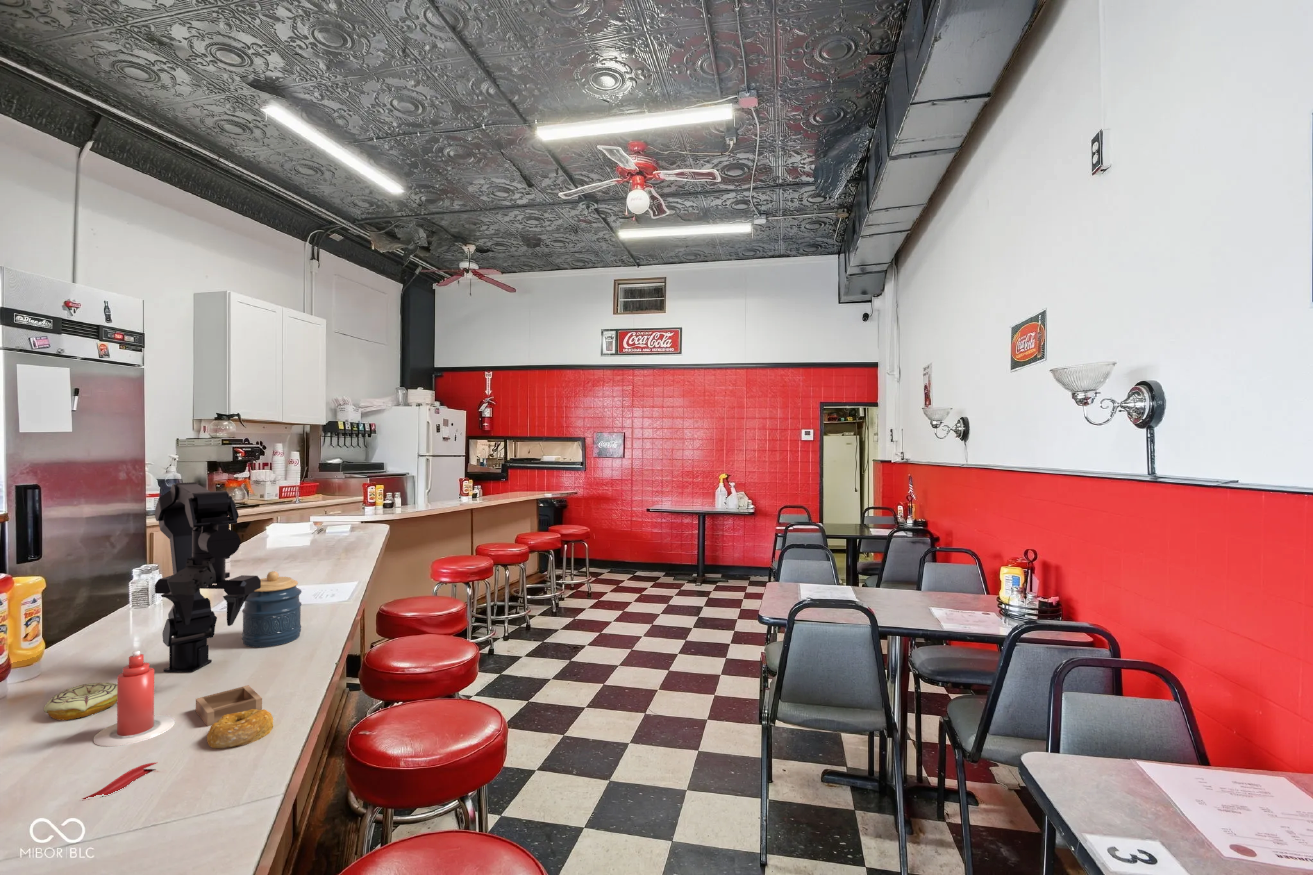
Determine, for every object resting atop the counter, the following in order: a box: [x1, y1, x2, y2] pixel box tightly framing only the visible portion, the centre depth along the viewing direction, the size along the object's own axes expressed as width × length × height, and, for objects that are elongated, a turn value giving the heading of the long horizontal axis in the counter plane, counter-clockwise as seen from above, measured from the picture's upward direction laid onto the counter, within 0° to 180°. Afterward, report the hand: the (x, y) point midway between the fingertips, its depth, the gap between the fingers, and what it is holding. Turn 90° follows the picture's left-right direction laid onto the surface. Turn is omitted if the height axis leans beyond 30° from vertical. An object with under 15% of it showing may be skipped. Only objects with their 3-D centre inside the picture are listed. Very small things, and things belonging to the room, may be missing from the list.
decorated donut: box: [43, 681, 117, 721], centre depth 118 cm, size 10×11×4 cm
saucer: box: [93, 714, 176, 747], centre depth 109 cm, size 11×11×1 cm
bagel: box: [206, 708, 275, 749], centre depth 108 cm, size 10×11×5 cm
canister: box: [241, 570, 303, 648], centre depth 158 cm, size 13×13×18 cm
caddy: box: [195, 685, 263, 727], centre depth 117 cm, size 9×9×3 cm
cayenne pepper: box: [82, 762, 157, 799], centre depth 94 cm, size 12×5×2 cm, turn 147°
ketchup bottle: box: [116, 650, 155, 736], centre depth 109 cm, size 5×5×14 cm
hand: (208, 625), depth 129 cm, fingers open, 9 cm apart
